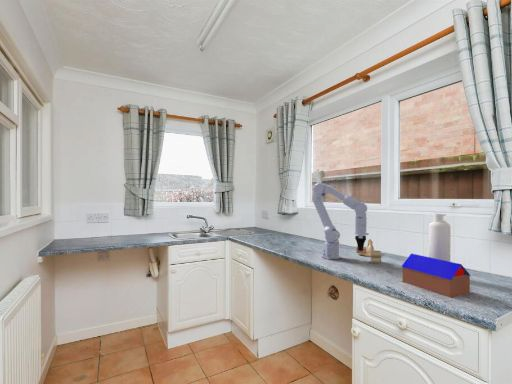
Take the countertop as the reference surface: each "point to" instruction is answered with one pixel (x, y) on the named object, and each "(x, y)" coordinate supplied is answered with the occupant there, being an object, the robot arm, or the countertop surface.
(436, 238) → the bottle
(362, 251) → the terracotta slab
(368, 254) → the bone
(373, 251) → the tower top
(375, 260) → the tower bottom
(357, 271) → the countertop surface
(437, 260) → the house
